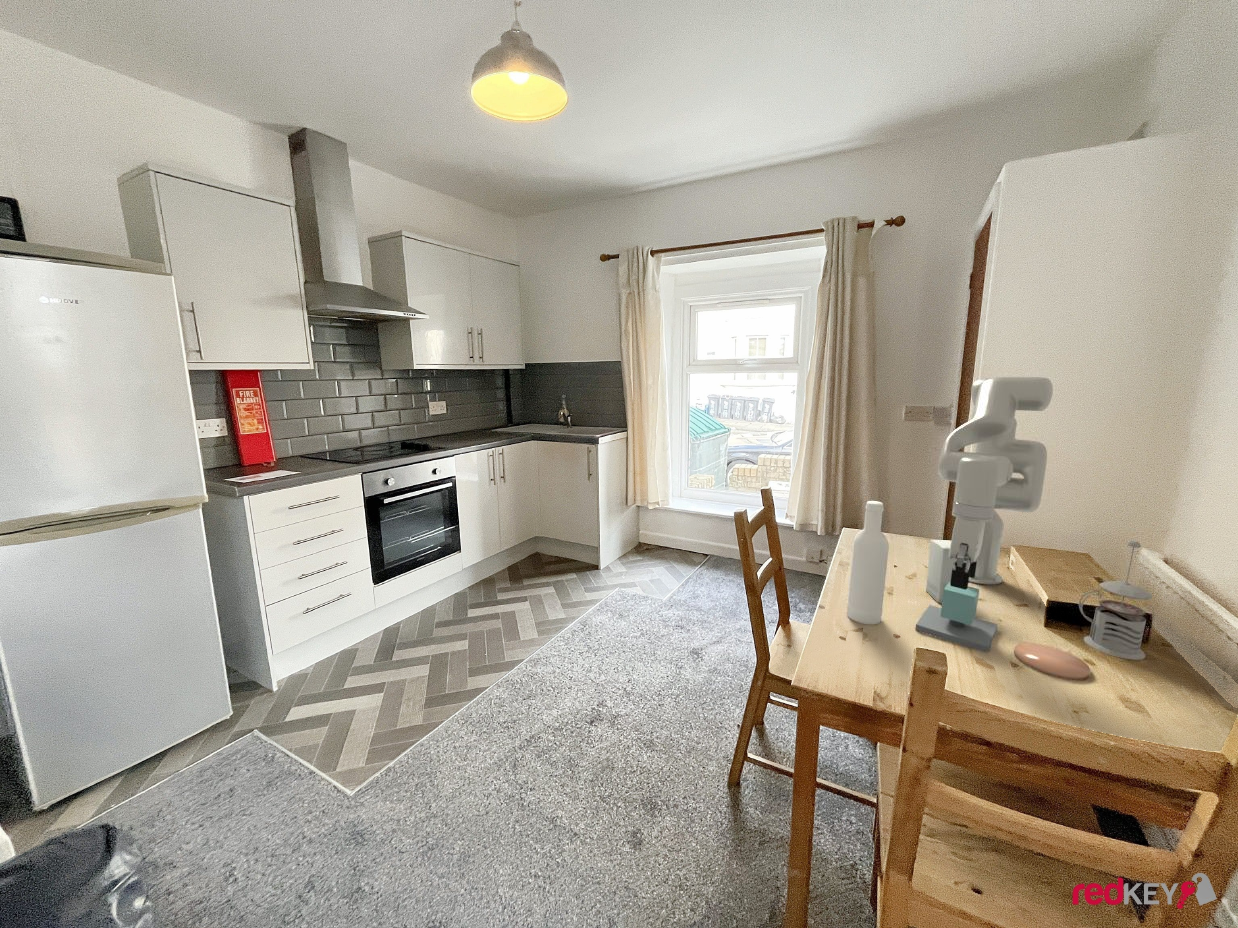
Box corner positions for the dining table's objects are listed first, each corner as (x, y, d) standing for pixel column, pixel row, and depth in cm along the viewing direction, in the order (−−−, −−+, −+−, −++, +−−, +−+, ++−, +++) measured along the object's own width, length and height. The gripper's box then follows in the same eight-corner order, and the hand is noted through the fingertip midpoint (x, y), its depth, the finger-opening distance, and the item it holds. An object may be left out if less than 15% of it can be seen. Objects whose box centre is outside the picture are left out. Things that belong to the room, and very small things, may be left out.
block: (945, 607, 118) (949, 581, 116) (975, 616, 114) (979, 588, 112) (940, 616, 114) (943, 589, 112) (971, 625, 109) (975, 597, 108)
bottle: (880, 613, 122) (892, 500, 117) (882, 627, 115) (895, 508, 110) (845, 607, 125) (856, 497, 120) (846, 620, 118) (857, 504, 113)
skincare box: (963, 605, 126) (971, 550, 124) (936, 603, 128) (943, 548, 125) (949, 592, 134) (956, 539, 132) (923, 590, 136) (929, 538, 133)
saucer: (1016, 640, 109) (1017, 636, 109) (1089, 662, 101) (1090, 658, 101) (1010, 662, 101) (1011, 658, 101) (1089, 688, 93) (1090, 683, 93)
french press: (1153, 664, 100) (1178, 552, 96) (1079, 648, 106) (1099, 542, 102) (1136, 643, 109) (1158, 538, 104) (1068, 629, 115) (1086, 530, 110)
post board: (929, 610, 124) (933, 575, 122) (996, 629, 114) (1002, 592, 113) (915, 630, 114) (919, 593, 112) (987, 653, 104) (994, 613, 103)
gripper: (959, 502, 118) (950, 567, 120) (945, 514, 105) (935, 587, 108) (998, 507, 112) (987, 576, 115) (987, 521, 100) (976, 597, 103)
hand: (962, 581), depth 112 cm, fingers open, 9 cm apart
